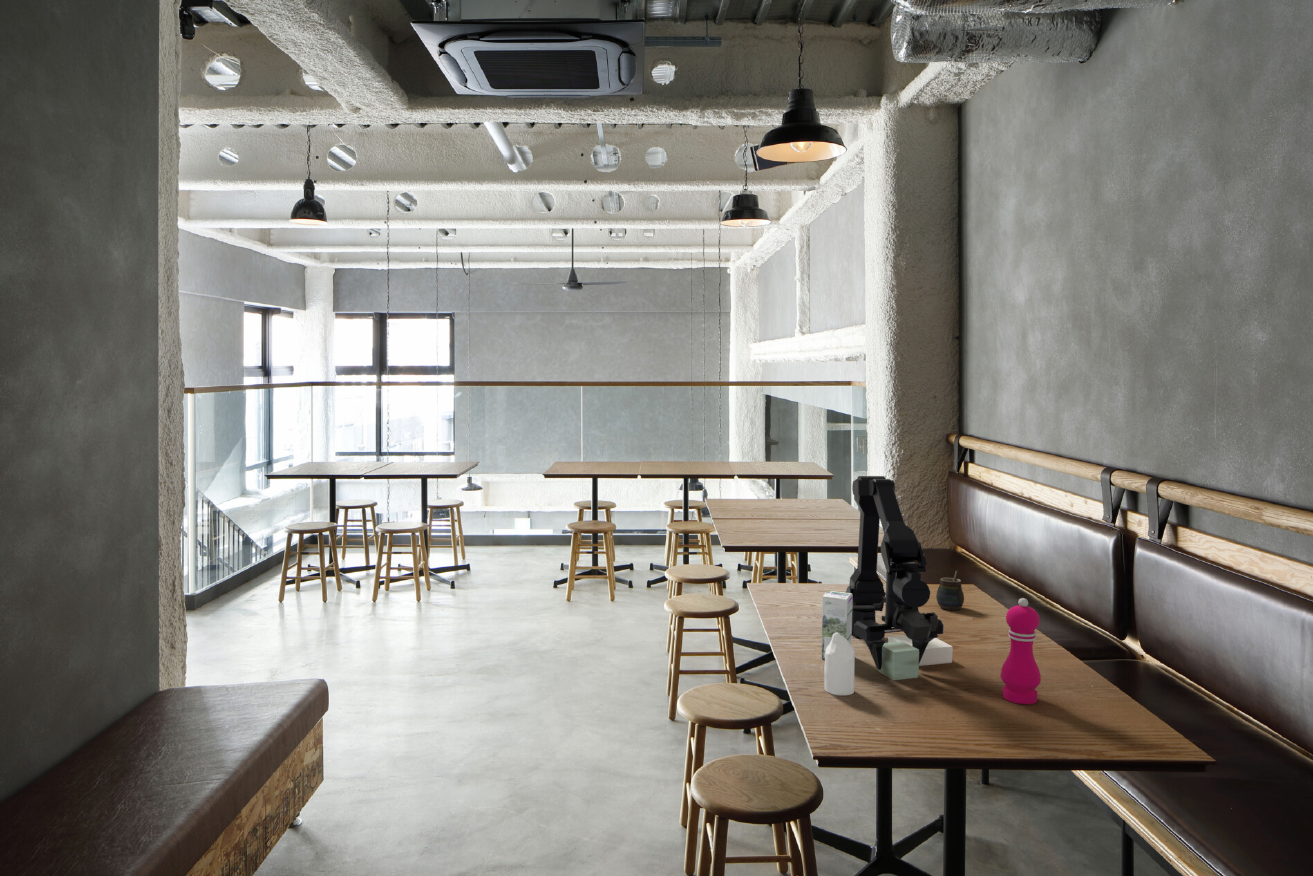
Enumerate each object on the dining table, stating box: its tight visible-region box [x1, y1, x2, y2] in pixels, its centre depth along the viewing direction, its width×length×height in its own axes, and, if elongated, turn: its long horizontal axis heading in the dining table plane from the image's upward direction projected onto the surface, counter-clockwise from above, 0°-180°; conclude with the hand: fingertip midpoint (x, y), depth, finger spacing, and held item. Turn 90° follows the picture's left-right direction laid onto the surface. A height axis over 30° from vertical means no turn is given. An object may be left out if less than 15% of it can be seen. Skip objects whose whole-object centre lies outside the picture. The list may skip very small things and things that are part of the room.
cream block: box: [887, 634, 954, 667], centre depth 188 cm, size 10×10×4 cm
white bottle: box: [823, 633, 856, 696], centre depth 167 cm, size 6×12×6 cm
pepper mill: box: [1000, 597, 1042, 705], centre depth 163 cm, size 7×7×20 cm
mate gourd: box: [935, 570, 965, 611], centre depth 229 cm, size 7×8×10 cm
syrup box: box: [820, 590, 853, 660], centre depth 187 cm, size 6×6×14 cm
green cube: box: [877, 641, 920, 681], centre depth 177 cm, size 6×6×6 cm
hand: (897, 667), depth 177 cm, fingers open, 9 cm apart
